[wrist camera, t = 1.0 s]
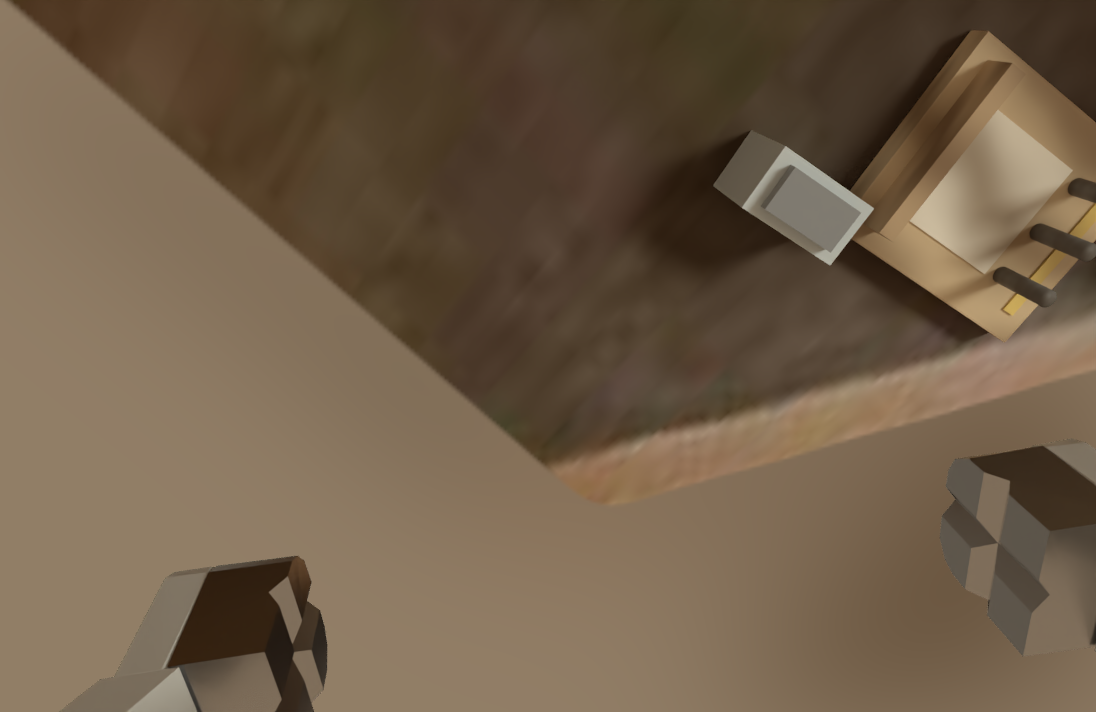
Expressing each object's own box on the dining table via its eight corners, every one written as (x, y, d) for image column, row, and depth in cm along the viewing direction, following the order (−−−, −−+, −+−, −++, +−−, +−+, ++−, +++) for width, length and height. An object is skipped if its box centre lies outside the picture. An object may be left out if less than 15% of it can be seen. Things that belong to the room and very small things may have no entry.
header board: (971, 30, 41) (1041, 34, 36) (1134, 167, 45) (1217, 189, 40) (826, 222, 45) (871, 250, 40) (989, 332, 49) (1049, 370, 44)
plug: (750, 130, 42) (790, 148, 37) (831, 186, 44) (880, 211, 39) (712, 185, 43) (745, 210, 38) (793, 238, 45) (835, 269, 40)
